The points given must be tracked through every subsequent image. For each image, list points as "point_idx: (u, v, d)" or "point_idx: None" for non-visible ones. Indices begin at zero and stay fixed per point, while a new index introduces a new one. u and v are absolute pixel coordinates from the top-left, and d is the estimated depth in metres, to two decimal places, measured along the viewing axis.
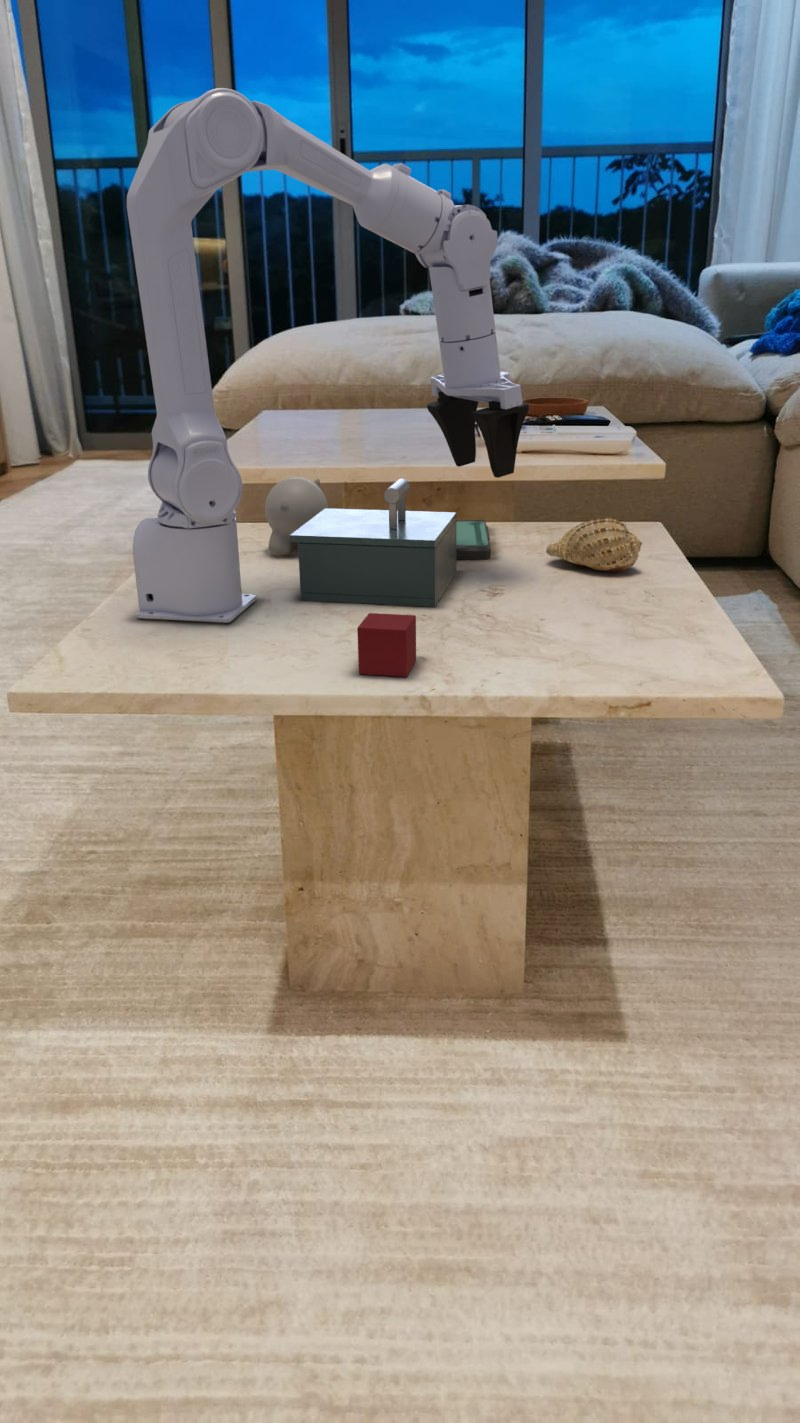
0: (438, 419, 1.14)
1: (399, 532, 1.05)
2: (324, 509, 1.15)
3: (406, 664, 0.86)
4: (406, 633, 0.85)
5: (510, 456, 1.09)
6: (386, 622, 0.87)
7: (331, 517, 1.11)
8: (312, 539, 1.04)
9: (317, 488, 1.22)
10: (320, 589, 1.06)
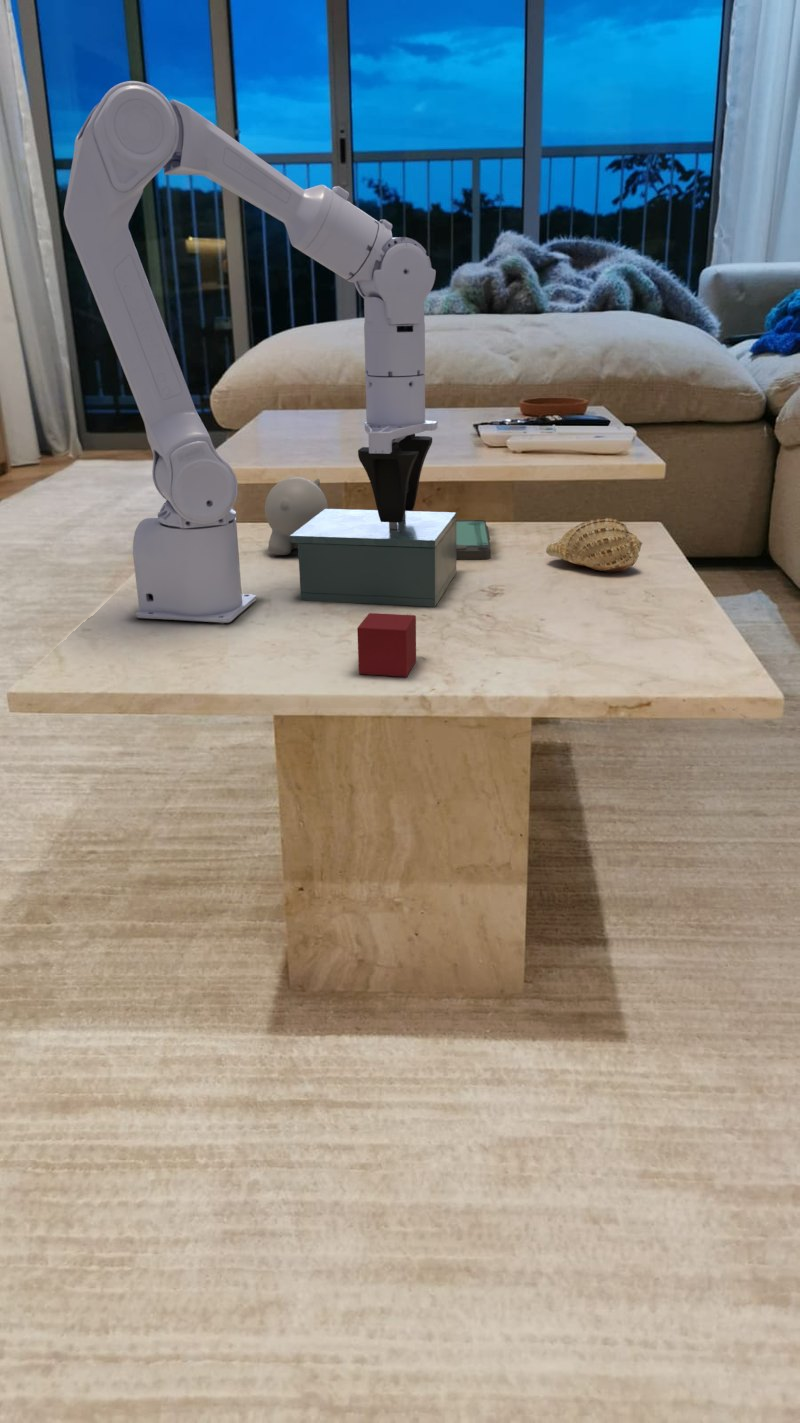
0: None
1: (399, 532, 1.05)
2: (324, 509, 1.15)
3: (406, 664, 0.86)
4: (406, 633, 0.85)
5: (397, 504, 1.04)
6: (386, 622, 0.87)
7: (331, 517, 1.11)
8: (312, 539, 1.04)
9: (317, 488, 1.22)
10: (320, 589, 1.06)
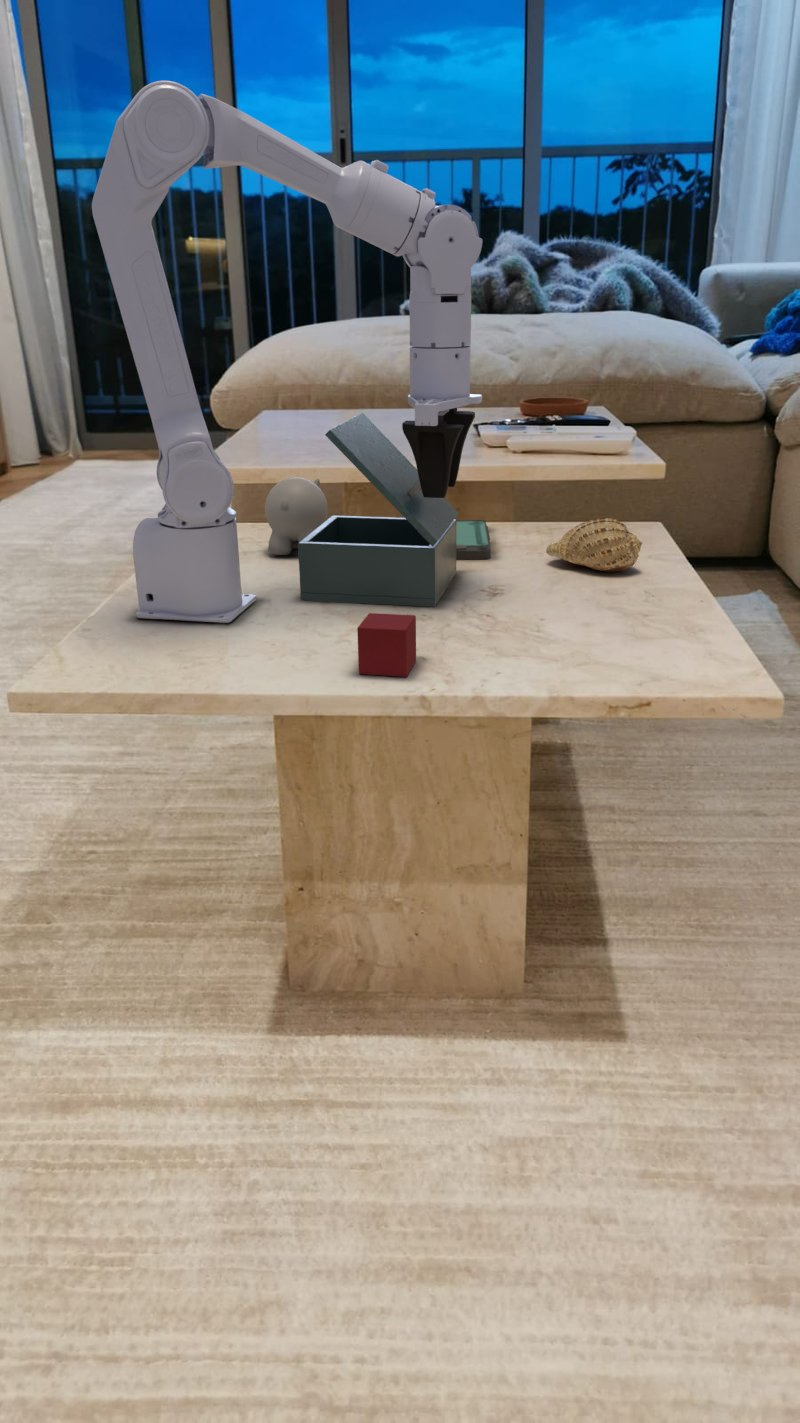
0: None
1: (413, 504, 1.03)
2: (362, 413, 1.10)
3: (406, 664, 0.86)
4: (406, 633, 0.85)
5: (440, 479, 1.02)
6: (386, 622, 0.87)
7: (365, 432, 1.07)
8: (345, 450, 1.00)
9: (317, 488, 1.22)
10: (320, 589, 1.06)
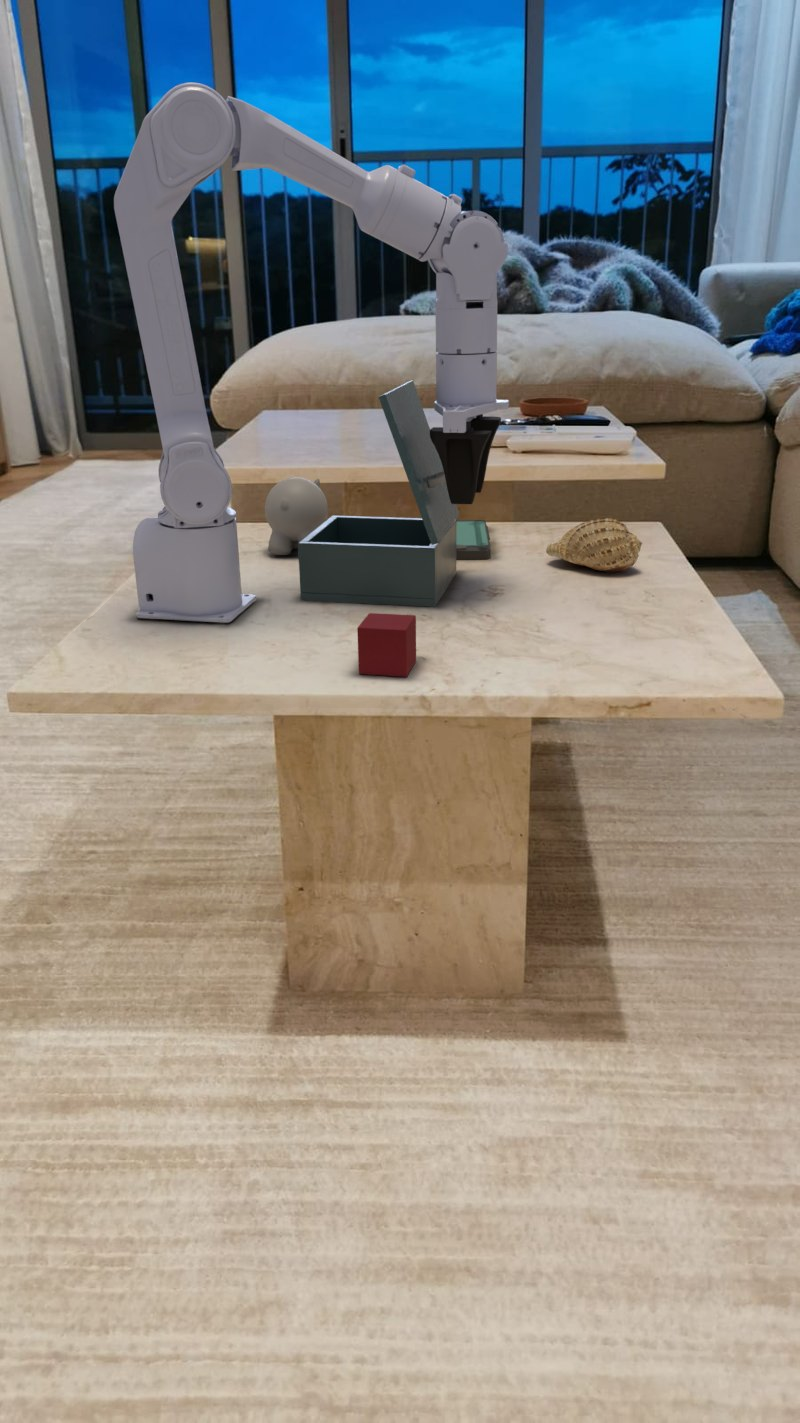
0: None
1: (429, 496, 1.03)
2: (412, 382, 1.08)
3: (406, 664, 0.86)
4: (406, 633, 0.85)
5: (468, 485, 1.02)
6: (386, 622, 0.87)
7: (410, 404, 1.05)
8: (390, 420, 0.98)
9: (317, 488, 1.22)
10: (320, 589, 1.06)
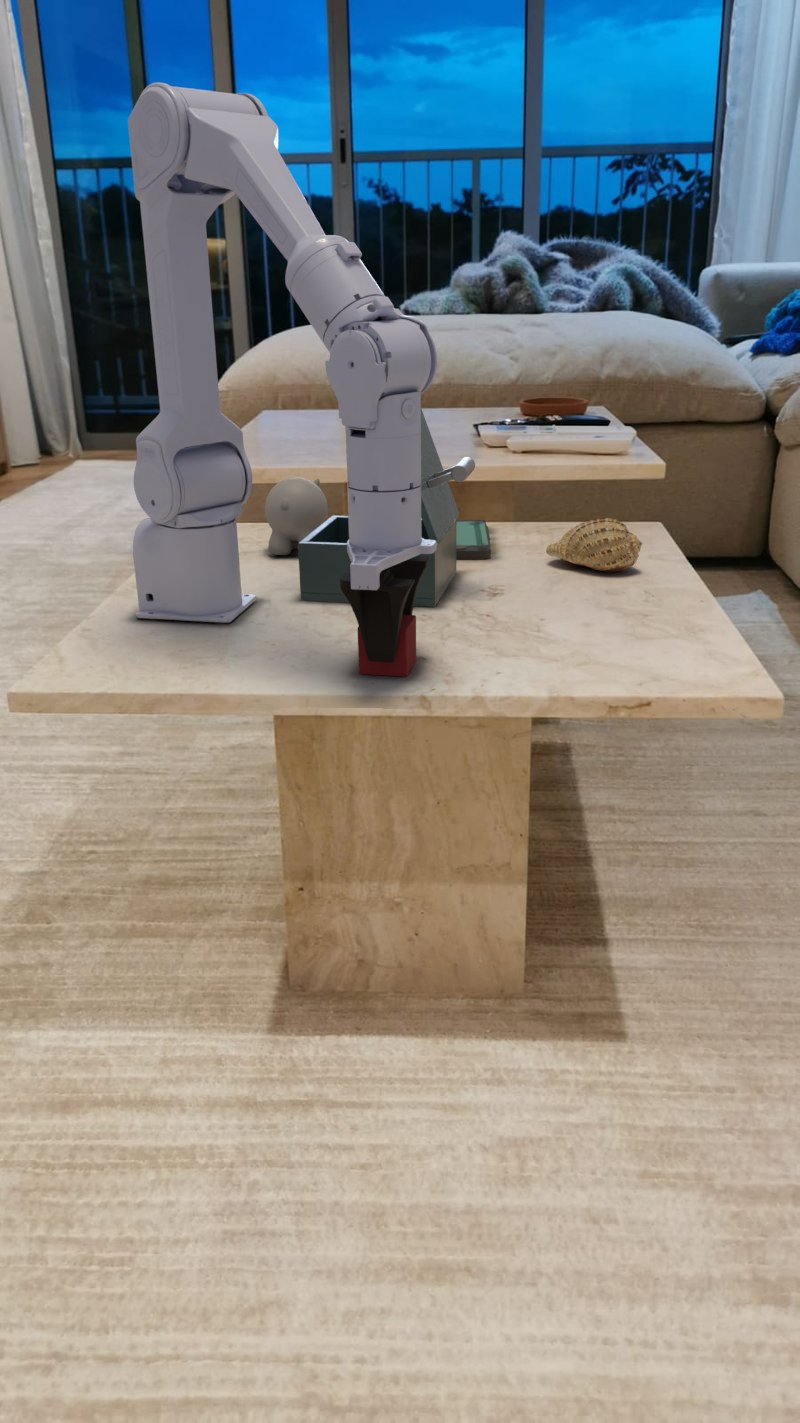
0: None
1: (429, 497, 1.03)
2: None
3: (406, 664, 0.86)
4: (406, 633, 0.85)
5: (388, 641, 0.85)
6: None
7: None
8: None
9: (317, 488, 1.22)
10: (320, 589, 1.06)
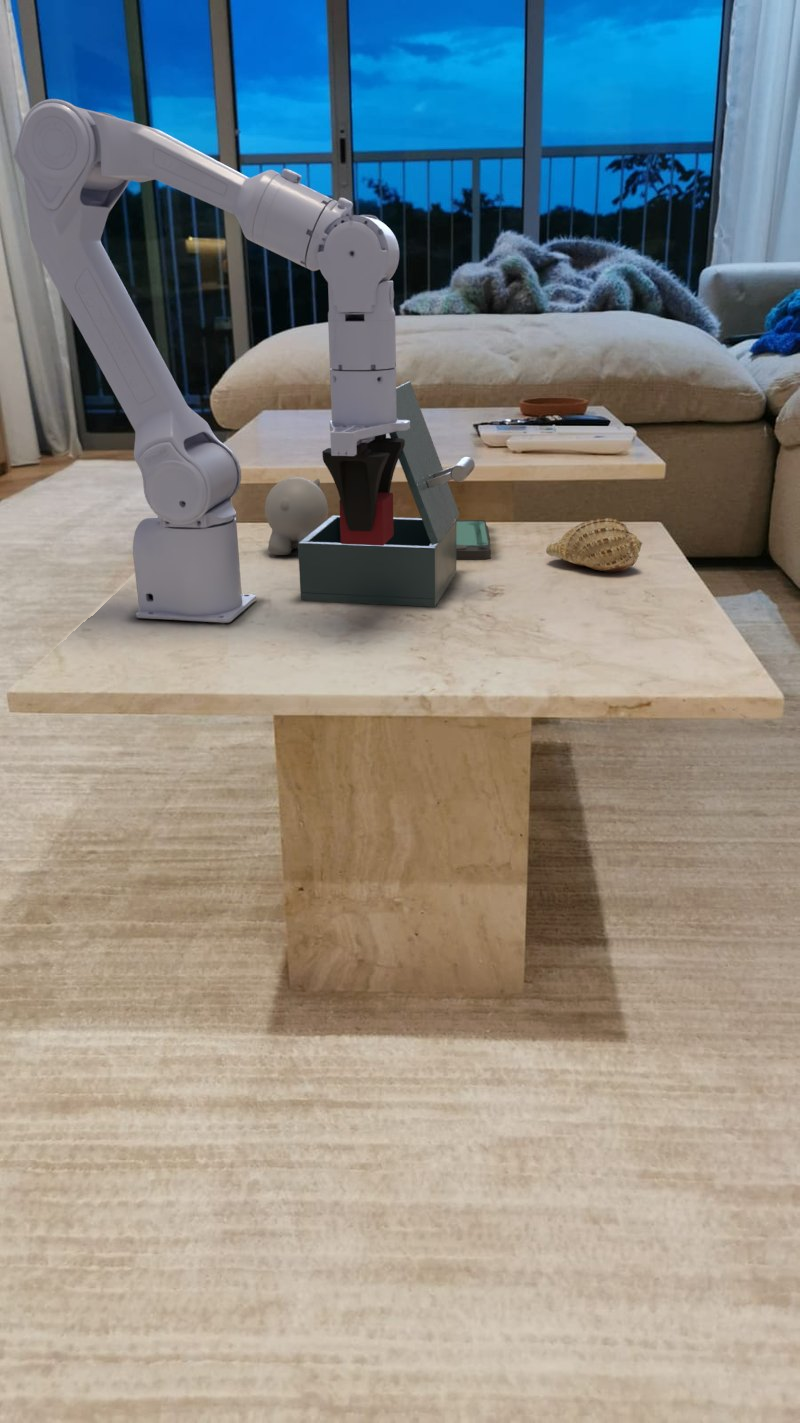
0: None
1: (428, 497, 1.03)
2: (409, 383, 1.08)
3: (383, 533, 0.96)
4: (383, 504, 0.95)
5: (366, 511, 0.94)
6: None
7: (408, 404, 1.05)
8: None
9: (317, 488, 1.22)
10: (320, 589, 1.06)
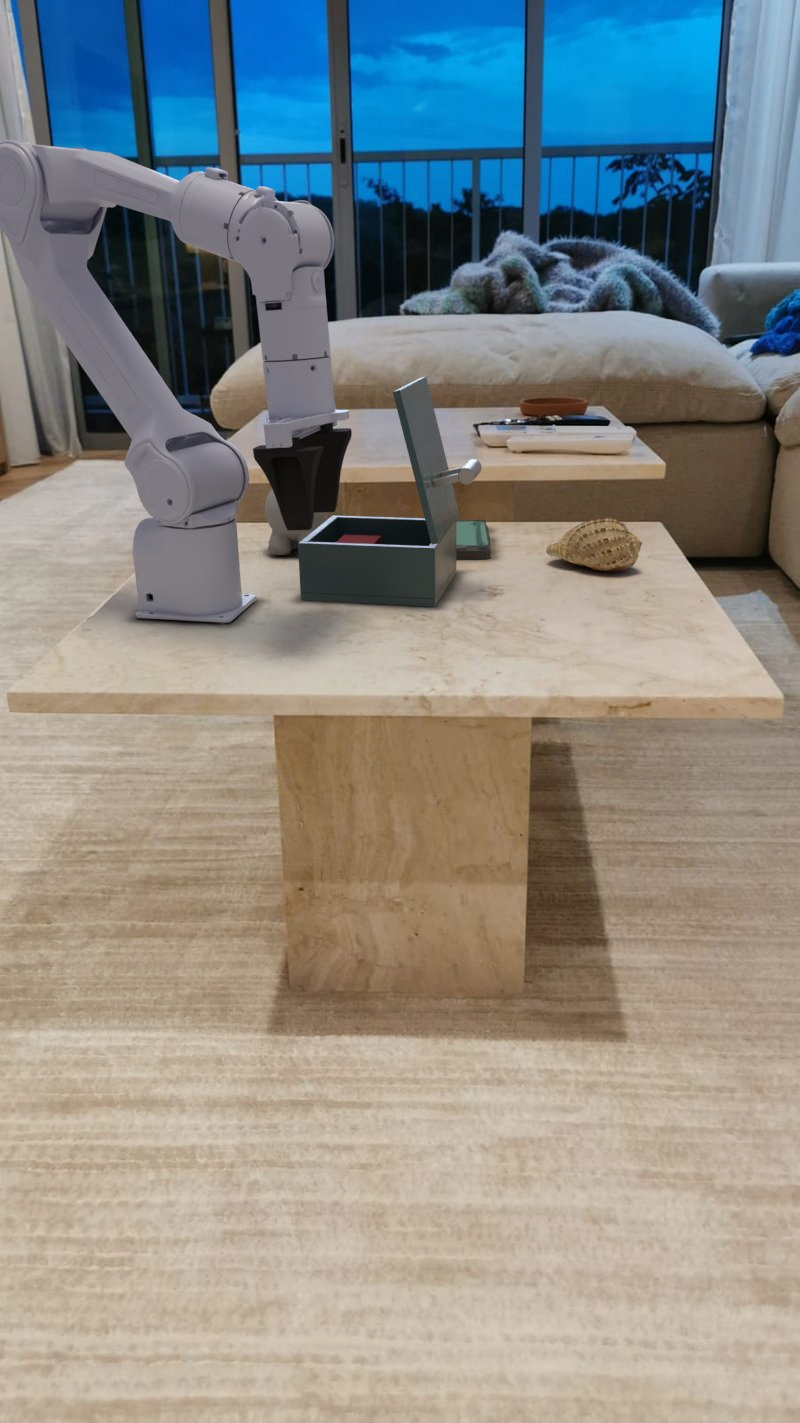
0: None
1: (433, 496, 1.03)
2: (425, 378, 1.08)
3: None
4: None
5: (303, 509, 0.90)
6: (357, 540, 1.09)
7: (422, 400, 1.05)
8: (402, 416, 0.98)
9: None
10: (320, 589, 1.06)
